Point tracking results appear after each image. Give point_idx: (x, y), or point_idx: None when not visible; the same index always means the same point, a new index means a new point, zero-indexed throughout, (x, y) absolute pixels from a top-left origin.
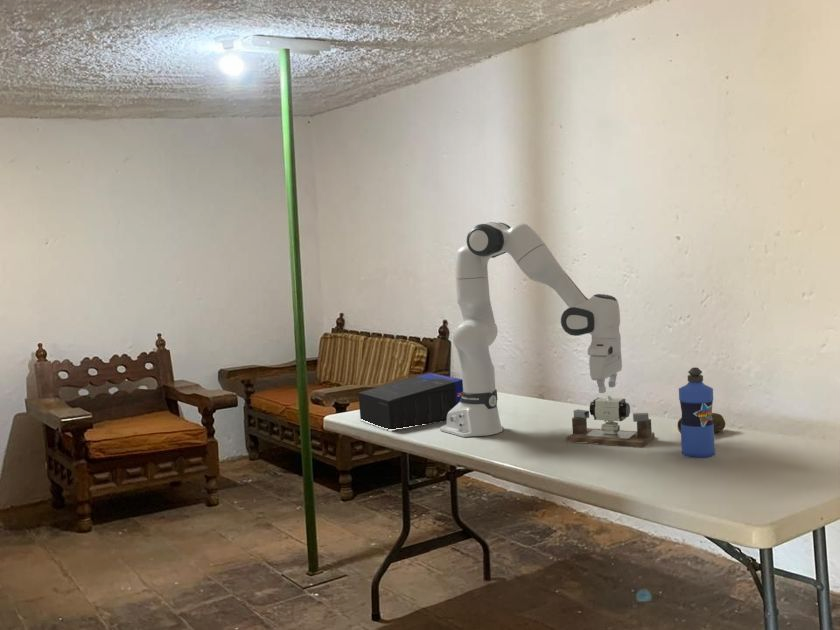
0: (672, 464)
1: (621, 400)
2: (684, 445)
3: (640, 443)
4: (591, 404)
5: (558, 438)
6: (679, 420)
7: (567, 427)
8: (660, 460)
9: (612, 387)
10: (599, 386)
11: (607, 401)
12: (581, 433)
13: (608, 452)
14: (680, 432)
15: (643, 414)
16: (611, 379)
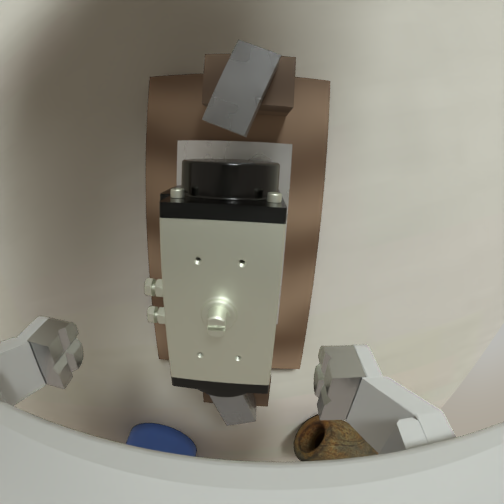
0: (71, 405)
1: (210, 385)
2: (127, 443)
3: (159, 351)
4: (190, 172)
5: (202, 29)
6: (322, 443)
7: (387, 22)
8: (80, 388)
9: (316, 369)
10: (9, 350)
11: (164, 311)
12: None
13: (77, 268)
14: (318, 417)
15: (220, 413)
16: (371, 407)
